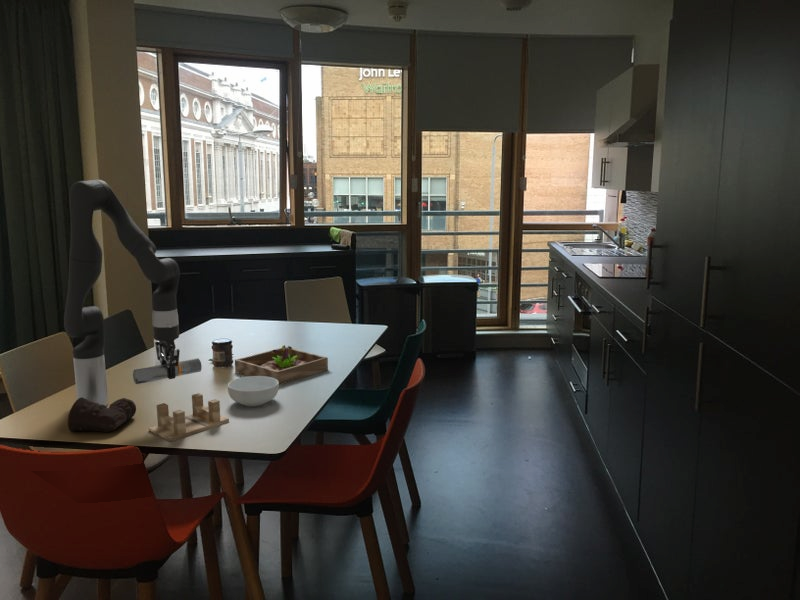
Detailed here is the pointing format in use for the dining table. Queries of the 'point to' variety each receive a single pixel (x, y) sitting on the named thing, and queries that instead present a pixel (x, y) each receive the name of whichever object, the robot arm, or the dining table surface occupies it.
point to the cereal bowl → (253, 390)
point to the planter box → (254, 368)
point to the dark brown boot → (99, 415)
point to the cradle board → (188, 419)
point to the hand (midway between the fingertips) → (168, 376)
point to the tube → (165, 371)
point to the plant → (283, 360)
